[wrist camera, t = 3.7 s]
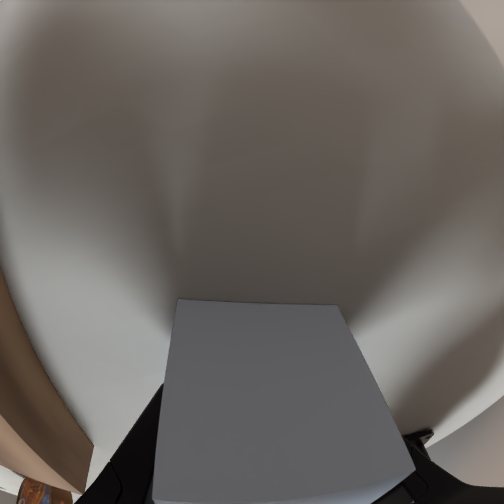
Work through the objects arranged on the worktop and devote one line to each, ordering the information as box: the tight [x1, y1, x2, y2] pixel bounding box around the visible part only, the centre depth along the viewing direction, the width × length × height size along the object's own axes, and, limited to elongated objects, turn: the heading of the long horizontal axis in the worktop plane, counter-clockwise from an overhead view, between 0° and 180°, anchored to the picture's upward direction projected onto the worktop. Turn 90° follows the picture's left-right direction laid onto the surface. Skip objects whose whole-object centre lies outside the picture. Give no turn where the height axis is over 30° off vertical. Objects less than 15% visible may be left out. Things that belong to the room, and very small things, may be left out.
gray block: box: [152, 299, 416, 504], centre depth 8 cm, size 5×5×6 cm
